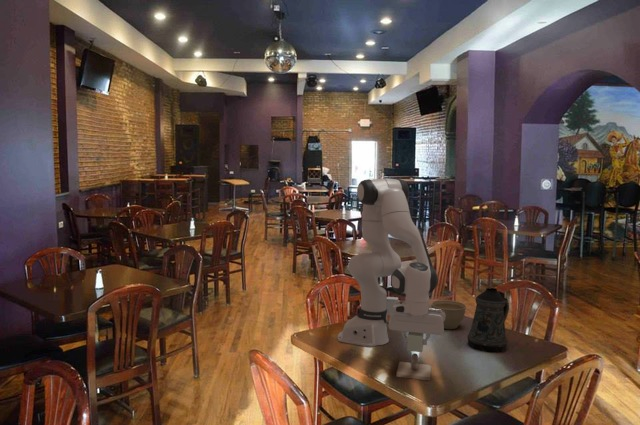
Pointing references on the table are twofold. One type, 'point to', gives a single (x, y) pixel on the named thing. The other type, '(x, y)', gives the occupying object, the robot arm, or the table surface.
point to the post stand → (414, 369)
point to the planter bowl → (450, 312)
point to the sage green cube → (415, 342)
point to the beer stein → (489, 322)
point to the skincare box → (390, 305)
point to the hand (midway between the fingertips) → (415, 343)
